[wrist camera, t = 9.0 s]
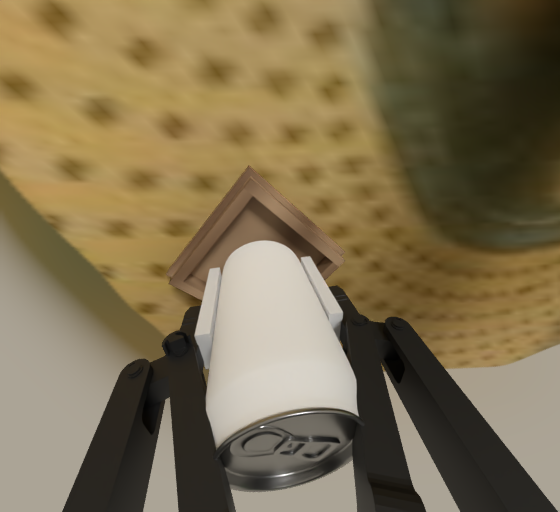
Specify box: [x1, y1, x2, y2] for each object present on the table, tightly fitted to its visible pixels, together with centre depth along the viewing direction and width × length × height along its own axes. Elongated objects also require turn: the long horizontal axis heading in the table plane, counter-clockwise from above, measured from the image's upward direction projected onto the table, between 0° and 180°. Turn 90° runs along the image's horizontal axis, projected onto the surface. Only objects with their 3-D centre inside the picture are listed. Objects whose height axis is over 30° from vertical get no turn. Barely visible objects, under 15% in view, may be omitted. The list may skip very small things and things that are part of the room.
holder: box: [166, 166, 345, 300], centre depth 20 cm, size 12×12×2 cm
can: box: [206, 240, 365, 492], centre depth 13 cm, size 6×6×12 cm
